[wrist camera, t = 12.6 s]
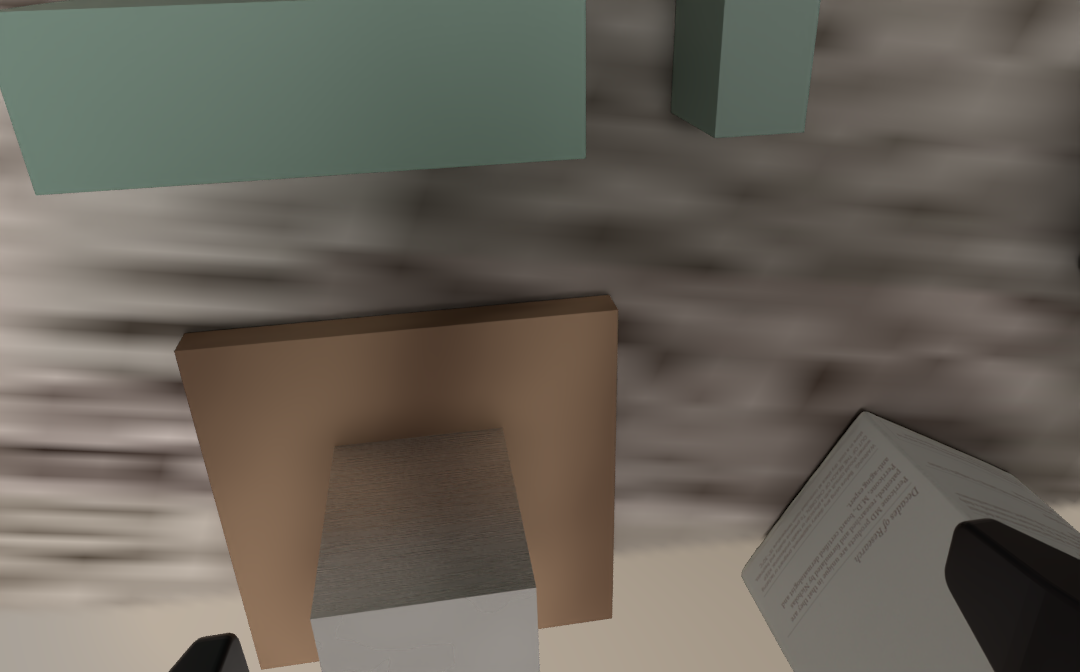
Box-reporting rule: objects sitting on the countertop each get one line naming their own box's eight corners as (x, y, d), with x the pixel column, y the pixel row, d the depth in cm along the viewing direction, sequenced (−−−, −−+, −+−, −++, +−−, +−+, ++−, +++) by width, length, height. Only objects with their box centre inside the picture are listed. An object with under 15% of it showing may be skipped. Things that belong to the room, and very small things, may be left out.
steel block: (502, 427, 21) (536, 587, 16) (510, 553, 23) (542, 733, 18) (334, 446, 20) (309, 619, 15) (357, 573, 22) (343, 766, 17)
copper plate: (608, 295, 21) (618, 309, 20) (604, 595, 26) (612, 618, 25) (184, 333, 19) (174, 351, 18) (266, 643, 24) (261, 669, 23)
